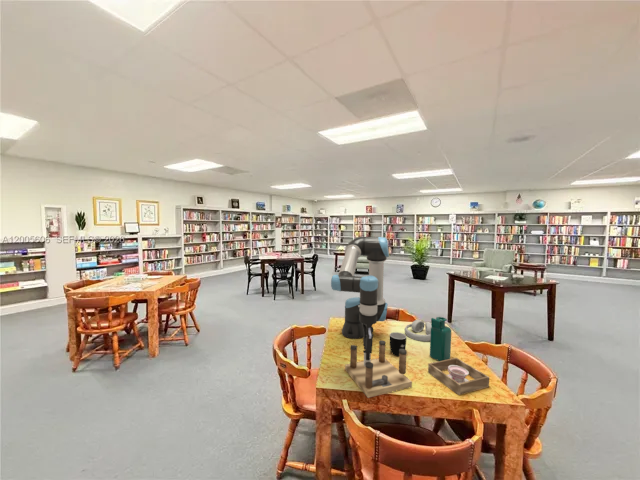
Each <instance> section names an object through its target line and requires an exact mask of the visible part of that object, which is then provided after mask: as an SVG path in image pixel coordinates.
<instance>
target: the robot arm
mask: <svg viewBox="0 0 640 480" xmlns="http://www.w3.org/2000/svg"><path fill="white" fill-rule="evenodd" d="M360 257H366V260H367V262H368V275H365V276H359V275H358V276H357V275H355V272H356V268H357V263H358V260H359V258H360ZM388 257H390V254H389V243H388V239H387V237H383V236H358V237H355V238H354V239H352V240H351V241H349V242H348V244H347V245H346V246H345V248H344V257H343V260H342V263H341V265H340V268H339V270H338V271H339V272H338V274H333V275H332V276H331V280H330V287H331V290H333V291H338V292H348V293H359V297H357V296H355V297H350V298H348V299H346V300H345V302H344V322H343V326H342V328H341V335H342V336H343V337H345V338H347V339H348V338H349V339H354V340H355V339H357V340H358V339H362V340H363V344H362V345H363V350H362V352H363V361H364V366H365V363H366V362H371V360H372V359H371V357H372V356H371V355H372V353H373V343H374V334H373V333H374V327H373V325H375V324H377V323H378V322H385V321H386V318H387V313H388V305H389V304H388V302H386V300H385V298H384V263H385V262H386V261H387V258H388Z"/></svg>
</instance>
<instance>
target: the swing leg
mask: <svg viewBox="0 0 640 480" xmlns="http://www.w3.org/2000/svg"><path fill="white" fill-rule="evenodd" d="M365 366H366V372H365V387H367V388H372V386H376V385H380V384H387V383H388V377H387V376H386V375H383V376H382V379H378V380H373V363H371V362H366V363H365Z"/></svg>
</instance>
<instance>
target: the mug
mask: <svg viewBox="0 0 640 480" xmlns="http://www.w3.org/2000/svg"><path fill="white" fill-rule="evenodd" d="M406 345H407V335H406V334H405V333H402V332H397V331H395V332H391V333H389V348H390V352H391V354H392V355H393V356H397V357H399V349H405V350H406V348H407V346H406Z"/></svg>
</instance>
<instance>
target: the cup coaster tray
mask: <svg viewBox="0 0 640 480" xmlns="http://www.w3.org/2000/svg"><path fill="white" fill-rule="evenodd" d="M450 365H457V366H460V367H463V368H465V369H466V370H467V371H468V372H469V374H468V375H467V376H469V377H471V378H472V380H469V381H466V382H463V383H458V382H456V381H455V380H453V379H452V378H450V377H449V376H448V374H446V373H445V372H443V371H445V370H448V366H450ZM427 372H428V373H427V374H430V375H431V376H432V377H433V378H435V379H436V380H437V381H439V382H440V383H441V384H443V385H444V386H446V387H447V388H448V389H450V390H451V391H452V392H454V393H455V394H457V396H460V395H465V394H468V393H472V392H474V391H479V390H482V389H485V388H489V387H490V376H488V375H487V374H485V373H484V372H481V370H478V369H476V368H475V367H473V366H472V365H469V364H468V363H466V362H465V361H463V360H461V359H459V358H458V357H452V358H450V359H447V360H443V361H438V360H437V361H434V362H429V363H428V370H427Z"/></svg>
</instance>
